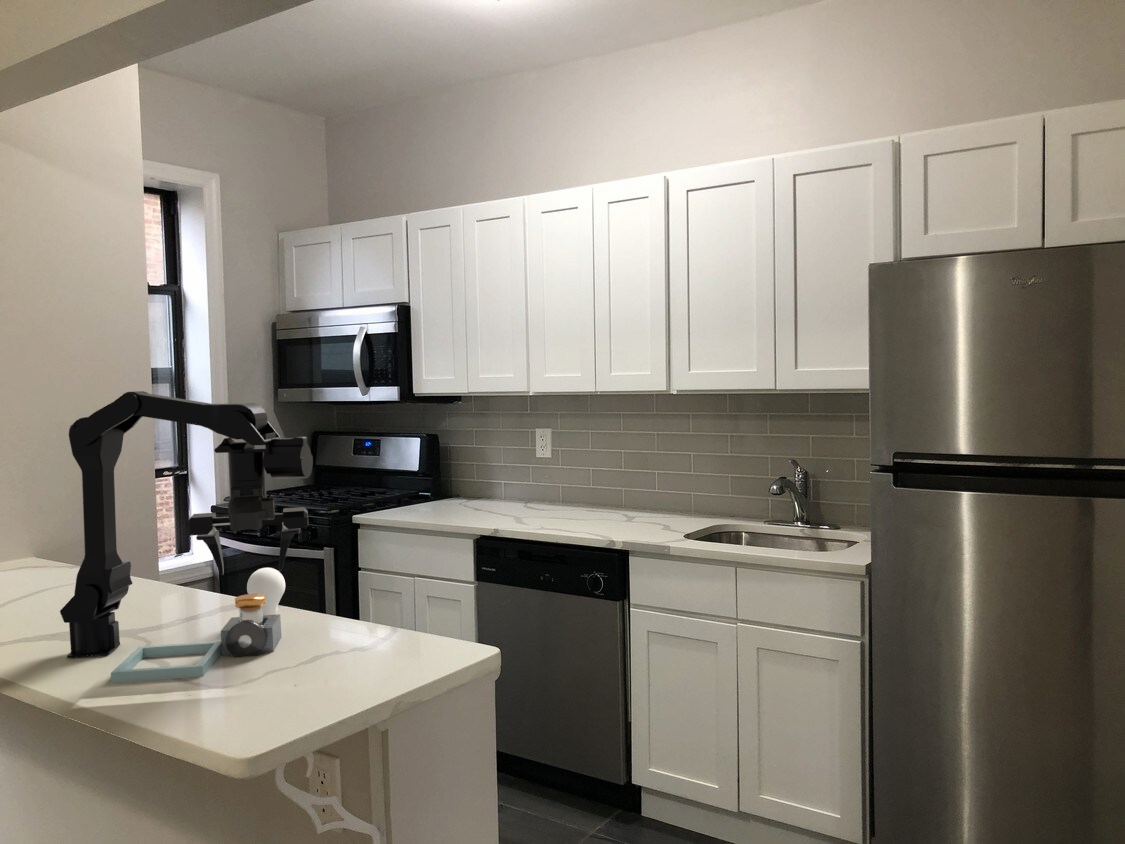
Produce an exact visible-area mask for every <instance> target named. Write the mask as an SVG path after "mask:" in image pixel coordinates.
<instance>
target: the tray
mask: <svg viewBox="0 0 1125 844" xmlns="http://www.w3.org/2000/svg"><path fill="white" fill-rule="evenodd" d="M199 654H205V655H203V657H202V659H200V661H199V662H198V663H197V664H188V665H187V664H186V665H172V666H158V667H146V668H135V667H136V666H137V665H138V664H139V663H140V662H141V661H142V660H143V659H144V658H155V657H156V658H157V657H169V656H171V657H172V656H183V655H186V656H187V655H199ZM221 655H222V645H221V640H217V641H202V642H201V641H199V642H187V643H186V642H185V643H175V644H171V643H170V644H158V645H157V644H156V645H144V646H143V645H142V646H138V647H137V648H136V649H134V650H133V652H131V653H130V654H129V655H128V656H127V657H126V658H125V659H124V660H123V661H122V662H121V663H119V664H118V665H117V667H115V668H114V669H113V670H112V671H111V672H110V679H111V680H110V681H111V684H117V683H129V682H130V683H131V682H133V683H134V682H144V681H146V682H147V681H157V680H158V681H159V680H168V679H169V680H171V679H185V678H199V677H204V676H205V675H206V673H208V671H209V669H210V668H211V667H212V665H213V664H214V663H215V661H216V660H217V659H218V658H219V656H221Z"/></svg>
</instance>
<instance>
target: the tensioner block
mask: <svg viewBox="0 0 1125 844" xmlns="http://www.w3.org/2000/svg"><path fill="white" fill-rule="evenodd" d="M281 618H282V617H281V614H279V613H278V614H275V615H263V625H260V624H259V623H257V622H255V621H253V620H242V621H240V616H238V617H236V616H235V617H233V616H232V617H230V618H229V620H228V621H227V622H226V623H225V625H224V626H223V627H222V629H221V630H220V639H221V640H220V641H221V645H222V652H221V656H223V657H224V656H233V657H234V658H246V657H247V658H248V657H257V656H259V654H261V653H262V654H265V653H273V652H275V651H276V649H277V646H278V645H279V642H280V641H281V640H282V621H281Z"/></svg>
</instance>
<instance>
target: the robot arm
mask: <svg viewBox="0 0 1125 844" xmlns="http://www.w3.org/2000/svg"><path fill="white" fill-rule="evenodd" d="M143 417H144V418H151V419H155V420H162V421H169V422H175V423H180V424H187V425H194V426H200V427H202V428H206V429H208V430H210V431H211V432H214V433H216V434H218V435H221V436H223V437H226V438H223V439H222V441H221V443H220V444H219V445H217V447H215V448H214V449H213V450H214V451H213V452H215V453H217V454H222V453H223V454H224V453H226V454H227V460H228V461H227V464H228V465H227V466H228V484H229V487H228V488H229V502H228V506H227V507H228V508H227V509H228V511H227V513H228V516H221V517H220V516H217V513H216V512H203V513H193V514H192V515H191V516H190V517H189V519H188V520H187V521H186V535H187V536H190V537H191V536H196V537H195V538H196V541H203V542H204V543H205V546H207V547H208V550H209V551H210V553H211V555H212V557H213V559H214V560H213V561H214V562H215V564H216V568H217V570H218V572H219V574H220V576H224V572H225V570H224V569H225V567H224V566H225V565H224V564H225V563H224V559H223V552H222V551H223V550H222V545H221V539H220V531H219V530H218V529H229V528H230V530H231V531H233V532H240V531H242V530H243V531H244V530H252V531H256V530H260V529H262V528H263V526H277V525H282V529H281V533H280V534H281V536H280V547H279V555H278V557H279V558H278V571H279V572H282V570H283V567H284V563H285V560H286V556H287V552H288V548H289V546H290V544H291V541H292V539H293V536H294V535H295V534H300V533H301V529H306V528H309V512H308V510H309V509H307V508H306V507H304V506H303V507H302V506H300V507H286V508H283V510H282V512H281V513H276V512H275V497H274V496H272V497H267V483H266V481H267V480H266V479H267V477H266V474H267V475H270V476H271V478H272V479H309V477H310V476H311V475H312V472H313V466H314V458H313V457H314V456H313V454H312V451H311V448H310V445H309V444H308V438H307V436H297V437H284V438H283V437H281V436H280V434H279V433H278V432H277V431H276V430H275V428H274V427H273V425H272V424H271V423H270V422H269V420H268V415H267V413H266V411H265V409H264V407H263V406H262V405H260V404H259V403H256V402H235V403H234V402H233V403H231V402H230V403H229V402H228V403H209V402H203V401H198V400H191V399H185V398H179V397H174V396H173V397H172V396H166V395H159V394H154V393H153V394H152V393H149V392H147V391H143V390H142V391H141V390H140V391H139V390H138V391H137V390H135V391H127V392H124V393H122V395H121V396H119V397H118V398H116V399H115V400H114V401H111V402H110V403H108V404H107V405H105V406H103V407H101V408H100V409H98V410H96V411H95V412H93V413H91V414H90V415H88V416H85V417H81V418H78V419H77V420H75V421H74V422H73V423H72V424H71V425H70V427H69V429H68V441H69V445H70V450H71V455H72V456H73V458H74V460H75V461H76V463H77V465H78V467H79V468H80V471H81V484H82V489H81V490H82V513H83V515H82V517H83V541H84V543H83V544H84V545H83V547H84V557H83V560H82V562H81V565H80V567H79V568H78V571H77V574H76V578H75V584H74V594H73V596H72V597H71V598H70V599H69V600H68V601H67V603H66V604H65V605H64V606H63V607H62V608H61V609H60V610H59V613H60V617H61V618H62V621H63V623H68V625H69V626H68V628H69V642H70V644H69V645H70V652H69V653H68V654H67V655H66V659H74V658H89V657H102V656H104V657H105V656H109V655H110V654H111V653H113V652H114V651H115V650H116V649H117V648H118V647H119V646H121V642H120V627H119V625H120V624H119V620H116V614H115V611H117V610H119V608H120V605H121V602H122V600H123V598H125V596H126V595H127V594H128V592H129V588H130V586H131V585H133V581H132V578H131V570H132V569H131V568H132V562H131V561H122V559H121V557H120V556H119V554H118V551H117V550H118V549H117V525H116V524H117V523H116V495H115V494H116V491H115V490H116V489H115V468H116V465H117V463H118V460H119V457H120V456H121V454H122V449H123V443H124V435H125V434H126V433H127V432H129V431H130V430H132V429H133V428H134V427H135V426H136V425H137V424H138V422H140V420H141V419H142V418H143ZM235 440H243V441H235ZM258 446H259V447H258ZM260 446H265V447H260Z"/></svg>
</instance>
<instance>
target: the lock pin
mask: <svg viewBox="0 0 1125 844" xmlns="http://www.w3.org/2000/svg"><path fill="white" fill-rule="evenodd" d="M264 604H266V596H265V595H264V594H248V593H247V594H241V595H238V596H236V597H234V606H235V608H236V609H237V608H238V612H239V617H240V621H242V620H253V621H255V622H257V623H259V624H260V625H263V613H262V605H264Z"/></svg>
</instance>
